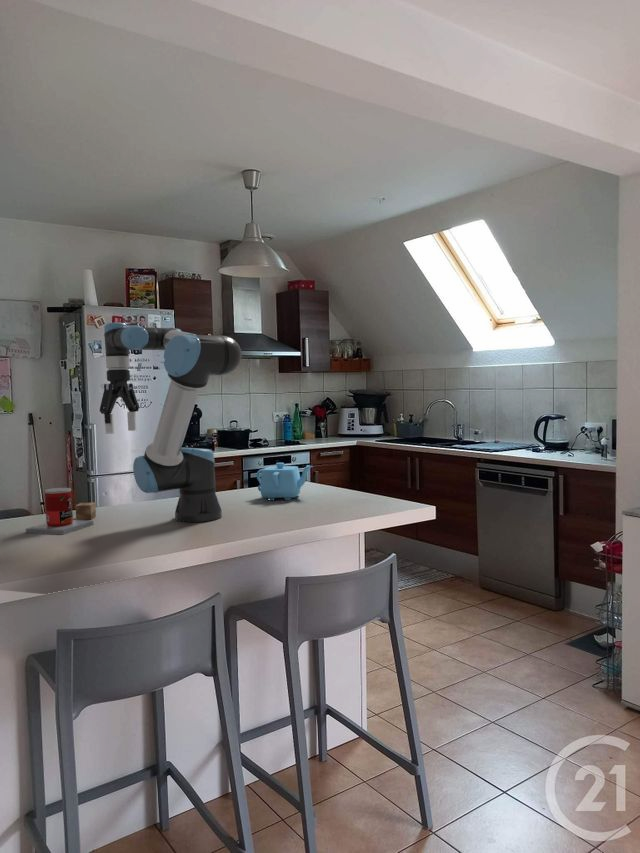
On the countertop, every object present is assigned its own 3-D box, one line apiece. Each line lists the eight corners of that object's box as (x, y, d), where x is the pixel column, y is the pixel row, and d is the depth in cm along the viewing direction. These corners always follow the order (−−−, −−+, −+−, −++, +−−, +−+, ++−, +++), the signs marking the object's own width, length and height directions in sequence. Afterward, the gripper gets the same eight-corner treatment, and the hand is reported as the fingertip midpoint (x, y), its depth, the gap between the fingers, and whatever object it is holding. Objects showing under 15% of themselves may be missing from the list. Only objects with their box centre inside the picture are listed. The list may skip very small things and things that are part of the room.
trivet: (93, 524, 213) (93, 520, 213) (63, 534, 200) (63, 530, 200) (57, 522, 218) (57, 519, 218) (26, 532, 204) (25, 528, 204)
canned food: (64, 527, 204) (62, 491, 204) (41, 526, 206) (39, 491, 205) (78, 521, 212) (76, 487, 211) (55, 521, 213) (53, 487, 213)
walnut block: (95, 517, 226) (95, 502, 226) (91, 520, 221) (90, 505, 221) (81, 517, 226) (80, 502, 226) (76, 520, 221) (75, 505, 221)
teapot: (270, 503, 241) (269, 466, 240) (252, 497, 256) (251, 462, 255) (314, 498, 250) (313, 462, 249) (294, 492, 264) (293, 458, 264)
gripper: (128, 370, 238) (131, 429, 239) (85, 369, 214) (89, 435, 216) (147, 369, 236) (150, 429, 237) (106, 368, 212) (109, 434, 213)
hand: (121, 432), depth 226 cm, fingers open, 13 cm apart
